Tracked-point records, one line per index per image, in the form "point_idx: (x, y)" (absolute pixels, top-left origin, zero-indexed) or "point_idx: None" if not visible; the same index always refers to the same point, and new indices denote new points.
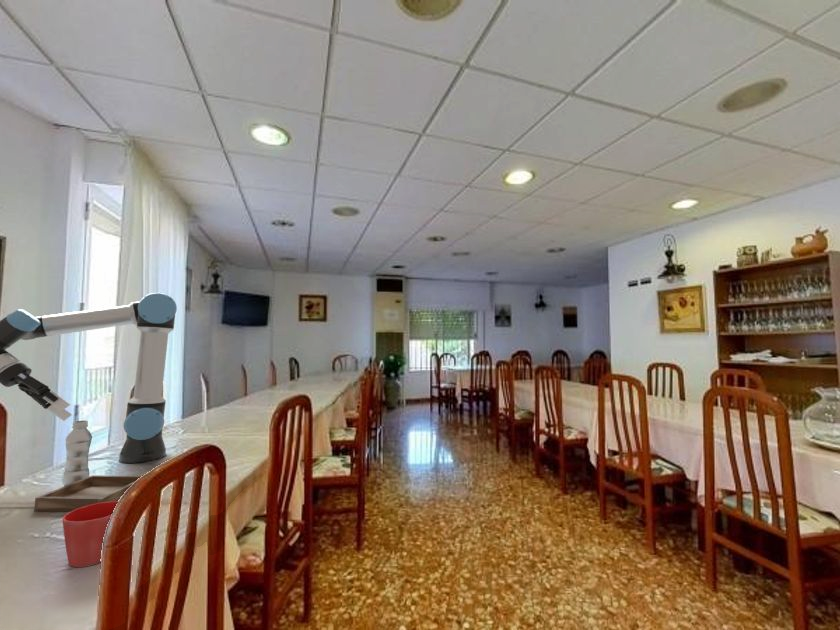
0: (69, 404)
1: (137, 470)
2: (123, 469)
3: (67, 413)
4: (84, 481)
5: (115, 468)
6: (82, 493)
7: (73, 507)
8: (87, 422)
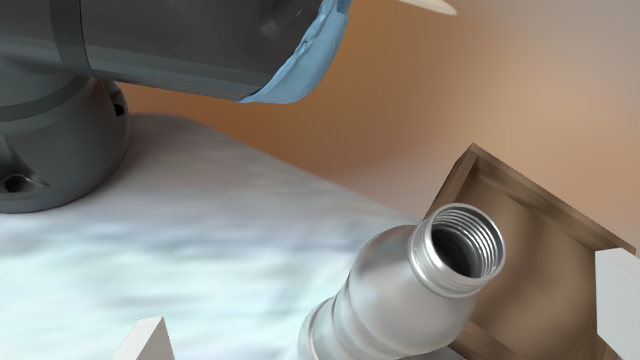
0: (622, 250)
1: (246, 167)
2: (197, 204)
3: (154, 352)
4: None
5: (157, 229)
6: (486, 310)
7: None
8: (464, 208)
